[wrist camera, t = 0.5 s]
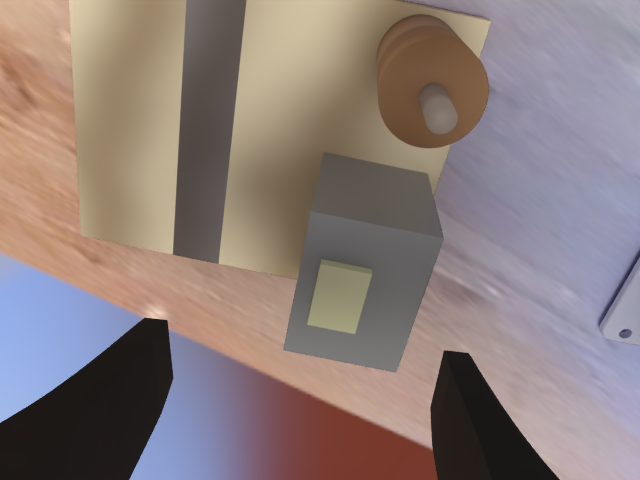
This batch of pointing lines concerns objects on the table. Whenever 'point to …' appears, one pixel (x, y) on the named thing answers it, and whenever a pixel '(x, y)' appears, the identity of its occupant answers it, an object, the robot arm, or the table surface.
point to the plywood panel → (230, 118)
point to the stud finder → (364, 263)
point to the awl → (429, 83)
